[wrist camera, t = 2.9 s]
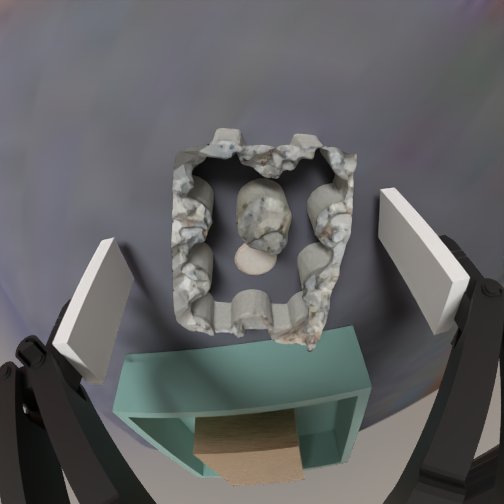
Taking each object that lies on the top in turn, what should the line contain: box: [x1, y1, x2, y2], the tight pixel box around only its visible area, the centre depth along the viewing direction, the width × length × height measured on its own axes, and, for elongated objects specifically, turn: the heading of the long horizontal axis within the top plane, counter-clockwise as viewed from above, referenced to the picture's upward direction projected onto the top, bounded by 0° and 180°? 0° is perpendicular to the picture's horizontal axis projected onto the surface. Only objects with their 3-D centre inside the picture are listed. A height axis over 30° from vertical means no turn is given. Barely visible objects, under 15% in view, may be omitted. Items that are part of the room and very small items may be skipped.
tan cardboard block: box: [193, 408, 304, 486], centre depth 23 cm, size 7×12×6 cm, turn 10°
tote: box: [112, 325, 372, 478], centre depth 24 cm, size 17×19×5 cm
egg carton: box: [171, 128, 357, 352], centre depth 14 cm, size 11×8×4 cm
